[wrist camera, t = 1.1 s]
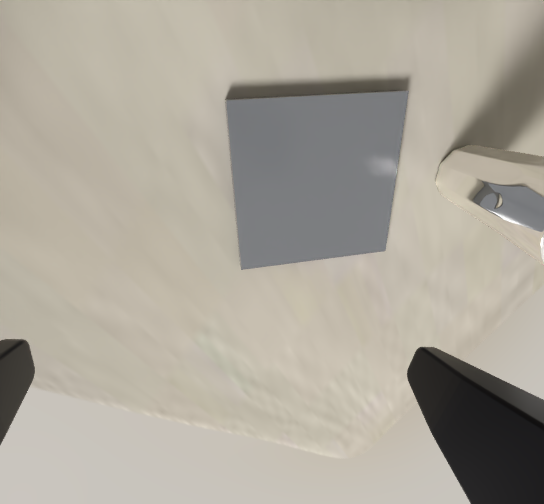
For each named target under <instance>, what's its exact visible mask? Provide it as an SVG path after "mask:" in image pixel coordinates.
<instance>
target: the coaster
mask: <svg viewBox="0 0 544 504" xmlns="http://www.w3.org/2000/svg"><path fill="white" fill-rule="evenodd" d="M408 92H409V91H404V90H398V91H379V92H360V93H340V94H321V95H301V96H282V97H262V98H243V99H225V104H226V115H227V126H228V137H229V148H230V159H231V170H232V181H233V192H234V203H235V214H236V225H237V236H238V247H239V258H240V266H241V270H243V269H251V268H258V267H266V266H274V265H281V264H289V263H297V262H304V261H312V260H320V259H328V258H335V257H343V256H351V255H358V254H366V253H374V252H381V251H385V250H386V243H387V236H388V229H389V222H390V215H391V208H392V201H393V195H394V188H395V181H396V174H397V167H398V160H399V153H400V146H401V140H402V133H403V126H404V119H405V112H406V105H407V98H408Z"/></svg>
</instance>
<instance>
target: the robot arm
mask: <svg viewBox="0 0 544 504" xmlns="http://www.w3.org/2000/svg"><path fill="white" fill-rule="evenodd" d="M34 373H35V367H34V363H33V359H32V355H31V351H30V347H29V344H28V342H27V341H26V340H23V339H5V340H1V341H0V445H1V443H2V441H3V439H4V437H5V435H6V433H7V431H8V429H9V427H10V425H11V423H12V421H13V419H14V417H15V415H16V413H17V411H18V409H19V407H20V405H21V403H22V401H23V399H24V397H25V395H26V393H27V391H28V389H29V387H30V385H31V383H32V381H33V378H34ZM407 377H408V381H409V384H410V386H411V388H412V390H413V393H414V395H415V397H416V399H417V402H418V404H419V406H420V409H421V411H422V413H423V415H424V418H425V420H426V422H427V424H428V426H429V428H430V431H431V433H432V435H433V437H434V438H435V440H436V442H437V444H438V446H439V448H440V449H441V451H442V453H443V454H444V457H445V458H446V460H447V462H448V464H449V465H450V467H451V469H452V471H453V473H454V474H455V476H456V478H457V480H458V481H459V483H460V485H461V487H462V489H463V490H464V492H465V494H466V496H467V497H468V499H469V501H470V503H471V504H544V400H543V399H541V398H539V397H536V396H534V395H532V394H530V393H528V392H526V391H524V390H522V389H520V388H518V387H516V386H514V385H511V384H509V383H507V382H505V381H503V380H501V379H499V378H497V377H495V376H493V375H491V374H489V373H487V372H485V371H483V370H480V369H478V368H476V367H474V366H472V365H470V364H468V363H466V362H464V361H462V360H460V359H458V358H456V357H454V356H451V355H449V354H447V353H445V352H443V351H441V350H439V349H437V348H434V347H420V348H418V349H417V350H416V352H415V354H414V356H413V359H412V361H411V363H410V365H409V368H408V371H407Z"/></svg>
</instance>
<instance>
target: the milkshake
mask: <svg viewBox="0 0 544 504" xmlns="http://www.w3.org/2000/svg"><path fill="white" fill-rule="evenodd" d="M435 182H436V185H437V187H438V190H439V193H440V195H441V196H443V197H444V198H446V199H447V200H449V201H450V202H452V203H453V204H455V205H456V206H458V207H459V208H461V209H462V210H464V211H465V212H467V213H468V214H470V215H471V216H473V217H475V218H476V219H478V220H479V221H481V222H482V223H484V224H485V225H487V226H488V227H490V228H491V229H493V230H494V231H496V232H497V233H499V234H500V235H502V236H503V237H504V238H506V239H507V240H509V241H510V242H511V243H513V244H514V245H516V246H517V247H518V248H520V249H521V250H523V251H524V252H525V253H527V254H528V255H530V256H531V257H532V258H534V259H535V260H537V261H538V262H539V263H541V264H542V265H544V156H538V155H532V154H526V153H520V152H514V151H508V150H502V149H496V148H490V147H483V146H477V145H467V146H464V147H461V148H458V149H455V150H453V151H452V152H451V153H450V154H449V155H448V156H447V157H446V158H445V159H444V161H443V162H442V163H441V164H440V166H439V170H438V173H437V177H436V180H435Z"/></svg>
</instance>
